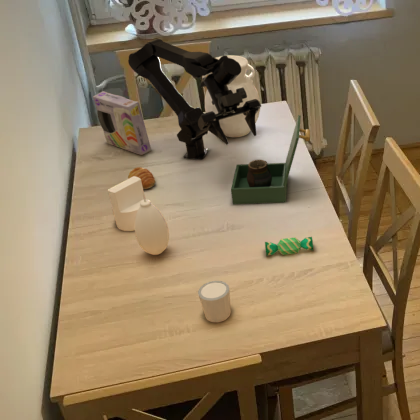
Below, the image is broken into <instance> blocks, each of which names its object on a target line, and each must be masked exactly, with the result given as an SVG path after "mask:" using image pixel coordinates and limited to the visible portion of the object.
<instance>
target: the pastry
mask: <svg viewBox="0 0 420 420" xmlns="http://www.w3.org/2000/svg"><path fill="white" fill-rule="evenodd" d="M133 176H135V177H138V178H140V179H141V182H142V186H143V190H148V189H150V188H153V187H154V186H155V184H156V182H157V181H156V178H155V177H154V174H153V173H152V172H151V171H150V170H149V169H147V168H143V167H141V166H138V167H134V168H133V169H132V170H130V171H129V173H128V176H127V179H129V178H131V177H133Z"/></svg>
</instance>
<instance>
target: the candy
mask: <svg viewBox="0 0 420 420" xmlns="http://www.w3.org/2000/svg"><path fill="white" fill-rule="evenodd" d="M264 249H265V255H266V257H268V256H272V255H274V254H276V253H277V252H279V253H280V254H281V255H282V256H284V255H285V256H286V255H294V254H298V253H299V252H300V250H301V249H305V250H308V251H314V240H313V236H308V237H304V238H303V239H302V240H299V239H298V238H297V237H295V236H293V237H286V238H280V240H279V241H278V243H273V242H271V241H264Z"/></svg>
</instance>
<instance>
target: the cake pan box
mask: <svg viewBox="0 0 420 420" xmlns="http://www.w3.org/2000/svg"><path fill="white" fill-rule="evenodd" d="M92 98H93V102H94V105H95V109H96V113H97V119H98V122H99V124H100V127H101V129H102V130H103V134H104V138H105V142H106V144H108V145H110V146H111V145H112V146H115V147H117V148H120V149H122V150H125V151H128V152H131V153H134V154H137V155H140V156H142V155H145V154H147V153H149V152H151V151H152V147H151V143H150V139H149V135H148V131H147V128H146V124H145V120H144V116H143V113H142V110H141V109H142V108H141V105H140V102H139V101H135V100H132V99H128V98H126V97H125V96H121V95H118V94H113V93H110V92H107V91H104V90H103V91H100V92H99V93H97V94H96V95H93V96H92Z"/></svg>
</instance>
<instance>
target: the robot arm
mask: <svg viewBox="0 0 420 420" xmlns="http://www.w3.org/2000/svg"><path fill="white" fill-rule="evenodd" d="M221 56H222V57H221V58H220V59H219V60H218V59H216V57H213V56H212V55H211V54H210V53H208V52H203V51H188V50H187V49H183V48H181V47H178V46H176V45H173V44H171V43H168V42H165V41H163V40H162V39H161V38H155V39H153V40H150V41H148V42H146V44H144V45H143V46H142V47H141V48H139V49H138V50H136V51H135V52H132V53H130V54H129V56H128V61H127V62H128V65H129V67H130V68H131V69H132V70H133V71H134V72H135V73H136V74H137V75H138V76H140V77H141V78H143V79H146V80H148V81H149V82H150V84H151V85H152V86H153V87H154V89H155V90H156V91H157V93H158V94H159V95H160V96H161V97H162V98H163V100H164V101H165V102H166V104H167V105H168V106H169V107H170V108H171V110H172V112H174V114H175V115H176V116H177V122H178V126H179V128H180V130H179V131H178V133H176V137H177V139H178V141H179V142H181V143H184V145H185V149H186V152H185V153H184V155H183V159H190V160H203V159H204V158H205V157H206V155H207V154H208V152H209V151H210V149H209V148H206V147H205V143H204V136H205V135H208V133H209V132H210V133H211V134H212V135H214V136H215V137H216V138H218V139H219V140H220V141H221V142H222V143H224V144H225V145H226V146H228V145H229V141H228V137H227V136H225V134H224V132H223V130H222V129H221V127H220V123H219V120H221V119H225V118H228V117H232V116H235V115H239V114H242V113H243V114H244V115H245V116H246V117H245V120H246V122H247V124H248V126H249V128H250V130H251V131H250V132H251V134H252V135H253V137H256V136H257V128H256V125H257V124H256V123H255V115H256V113H257V112H258V110H259V109H260V110H261V108H262V104H261V101H260V102H259V101H258V100H257V99H253V100H250V101H246V102H245V104H244V105H243V107H239V108H237V106H239V105H240V103H242V102H243V100H242V99H244V98H247V94H246V91H245V89H244V88H243V87H242V88H239V89H236V93H233V92H232V91H231V90H229V89H228V87H227V85H229V84H230V83H231V82H232V81H233V80H234V79H235V78H236V77H237V76H238V75H239V74H240V73H241V66H240V64H239V63H238V62H237V61H235V60H234V59H232V58H228V57H227V54H224V55H221ZM160 59H163V60H165V61H167V62H170V63H173V64H174V65H177V66H180V67H182V68H183V69H184V71H185V73H187V74H189V75H190V76H192V77H194V78H196V79H199V78H202V76H205V75H206V77H204V78H202V80H201V82H200V87H201V88H206V91H207V90H208V92H209V94H210V96H211V98H212V104H213V105H215V107H216V109H217V111H218V114H215V113H214V112H213V111H211V112H207V113H206V112H204V111H203V110H202V108H201V107H199V106H196V107H193V106H191V105H190V104H189V102H188V101H187V100H186V99H185V98H184V97H183V95H182V94H181V92H180V91H178V89H177V88H176V86H175V85H174V84H173V82H172V81H170V79H169V78H168V77H167V75H166V74H165V72H163V70H162V66H161V61H160ZM211 72H212V74H209V73H211ZM207 74H209V75H207Z"/></svg>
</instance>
